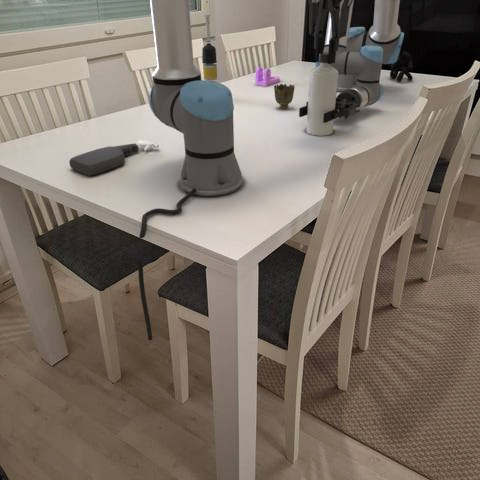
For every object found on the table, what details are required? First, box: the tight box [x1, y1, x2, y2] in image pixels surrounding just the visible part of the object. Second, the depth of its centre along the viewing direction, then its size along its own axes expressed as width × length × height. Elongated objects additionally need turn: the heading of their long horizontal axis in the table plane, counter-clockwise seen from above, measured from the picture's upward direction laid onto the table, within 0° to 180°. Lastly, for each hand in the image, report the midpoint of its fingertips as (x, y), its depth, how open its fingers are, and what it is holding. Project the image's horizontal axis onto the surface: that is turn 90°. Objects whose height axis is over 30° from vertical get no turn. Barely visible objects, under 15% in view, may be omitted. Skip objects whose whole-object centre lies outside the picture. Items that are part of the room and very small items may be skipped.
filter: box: [201, 14, 218, 82], centre depth 171 cm, size 6×6×30 cm
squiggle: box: [386, 51, 414, 83], centre depth 198 cm, size 11×10×15 cm
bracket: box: [254, 66, 280, 87], centre depth 199 cm, size 13×6×7 cm, turn 143°
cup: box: [273, 83, 296, 110], centre depth 163 cm, size 8×7×8 cm
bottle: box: [305, 63, 338, 137], centre depth 137 cm, size 8×8×23 cm
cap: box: [318, 52, 328, 63], centre depth 131 cm, size 4×4×2 cm
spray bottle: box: [68, 139, 160, 177], centre depth 124 cm, size 3×11×24 cm
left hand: (324, 62), depth 132 cm, fingers closed on cap, 4 cm apart
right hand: (312, 115), depth 137 cm, fingers closed on bottle, 8 cm apart
